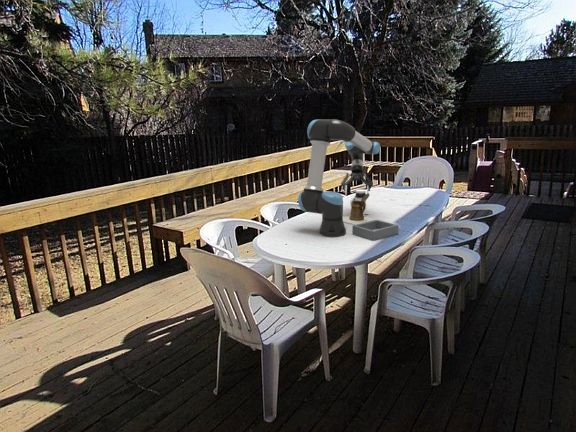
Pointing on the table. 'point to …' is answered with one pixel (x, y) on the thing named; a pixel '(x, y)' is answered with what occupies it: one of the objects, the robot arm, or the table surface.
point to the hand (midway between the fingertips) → (356, 194)
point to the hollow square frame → (382, 232)
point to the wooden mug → (358, 209)
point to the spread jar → (358, 196)
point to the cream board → (347, 220)
